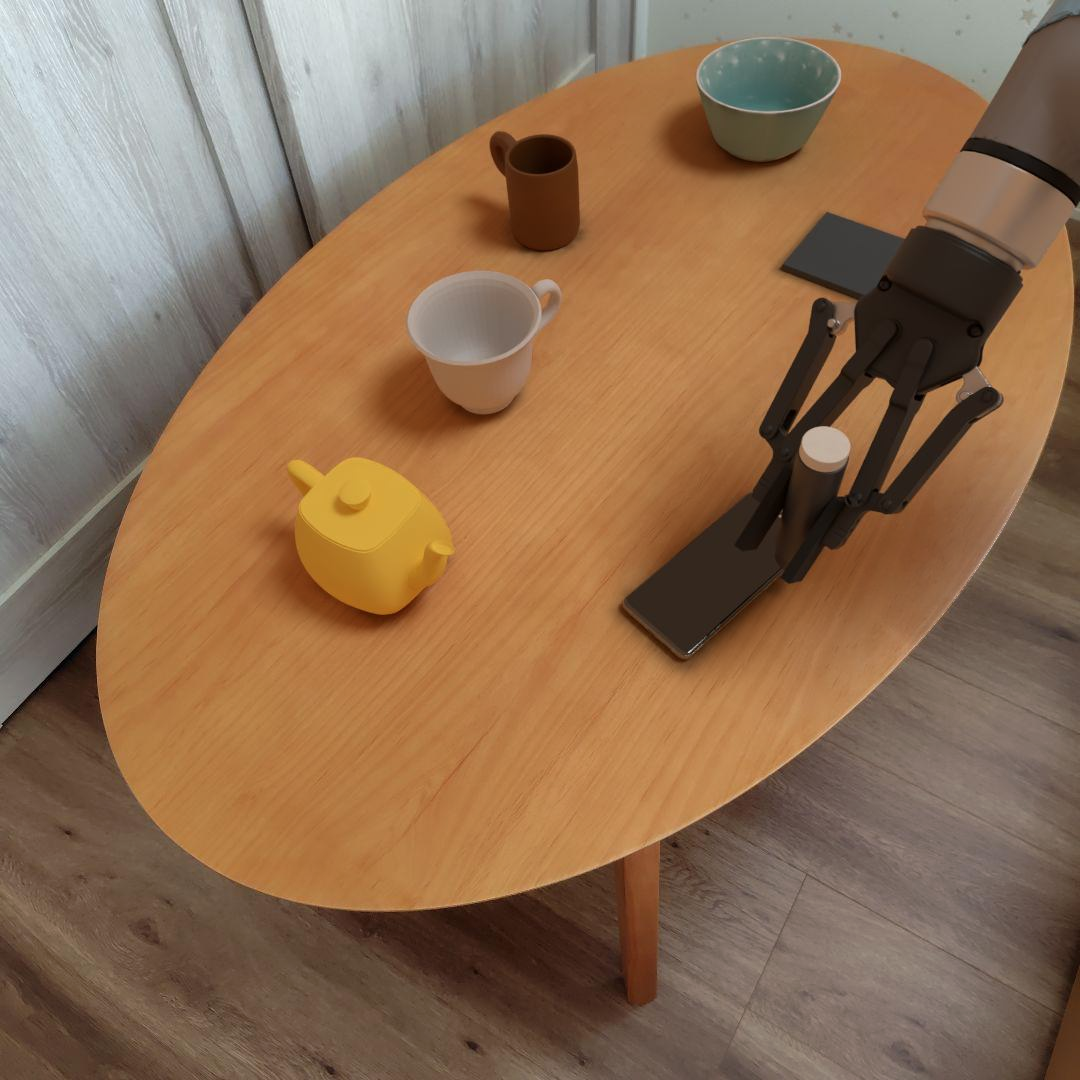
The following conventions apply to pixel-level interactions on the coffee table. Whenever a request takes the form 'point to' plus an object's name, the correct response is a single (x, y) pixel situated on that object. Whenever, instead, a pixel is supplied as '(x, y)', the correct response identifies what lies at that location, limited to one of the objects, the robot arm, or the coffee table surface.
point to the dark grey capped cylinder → (810, 487)
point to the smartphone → (706, 582)
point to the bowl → (766, 95)
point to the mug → (539, 188)
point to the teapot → (368, 534)
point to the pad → (843, 255)
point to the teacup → (480, 335)
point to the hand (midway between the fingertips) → (768, 562)
